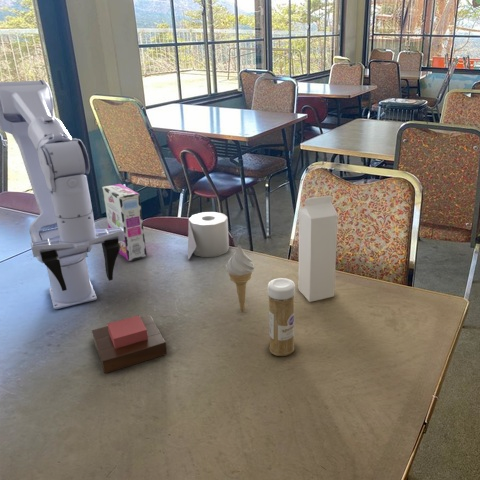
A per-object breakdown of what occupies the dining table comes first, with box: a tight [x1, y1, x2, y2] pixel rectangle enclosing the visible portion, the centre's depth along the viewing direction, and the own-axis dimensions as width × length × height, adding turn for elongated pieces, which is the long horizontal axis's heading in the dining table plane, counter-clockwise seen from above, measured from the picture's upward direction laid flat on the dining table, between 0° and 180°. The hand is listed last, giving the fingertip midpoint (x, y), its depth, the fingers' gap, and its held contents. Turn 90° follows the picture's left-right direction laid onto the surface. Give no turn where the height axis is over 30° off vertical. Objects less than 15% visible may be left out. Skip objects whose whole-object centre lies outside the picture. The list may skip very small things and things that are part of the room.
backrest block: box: [91, 314, 168, 374], centre depth 85 cm, size 10×10×2 cm
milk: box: [297, 195, 339, 303], centre depth 100 cm, size 6×6×22 cm
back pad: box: [106, 314, 148, 349], centre depth 84 cm, size 5×5×4 cm
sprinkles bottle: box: [267, 277, 296, 357], centre depth 83 cm, size 5×5×14 cm
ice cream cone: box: [224, 244, 255, 313], centre depth 94 cm, size 6×6×15 cm
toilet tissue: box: [187, 211, 230, 261], centre depth 120 cm, size 9×13×9 cm
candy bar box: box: [101, 183, 148, 262], centre depth 118 cm, size 11×5×16 cm, turn 43°
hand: (87, 283), depth 87 cm, fingers open, 7 cm apart
